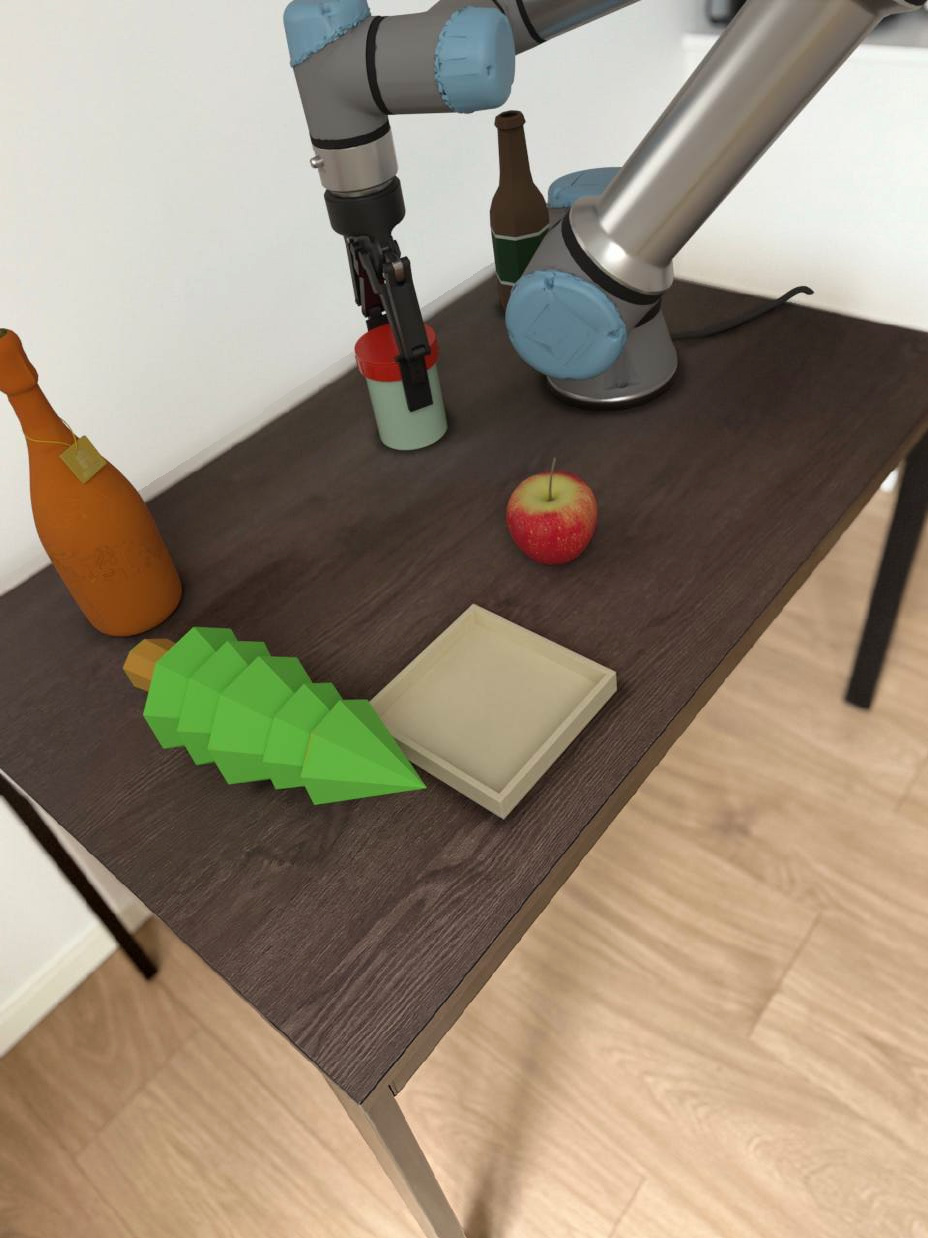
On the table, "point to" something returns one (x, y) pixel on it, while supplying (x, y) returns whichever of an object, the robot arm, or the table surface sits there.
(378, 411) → the jar
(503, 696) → the tray
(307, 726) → the decorative tree
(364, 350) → the lid
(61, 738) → the table surface
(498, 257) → the beer bottle
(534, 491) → the apple
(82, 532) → the wine bottle
